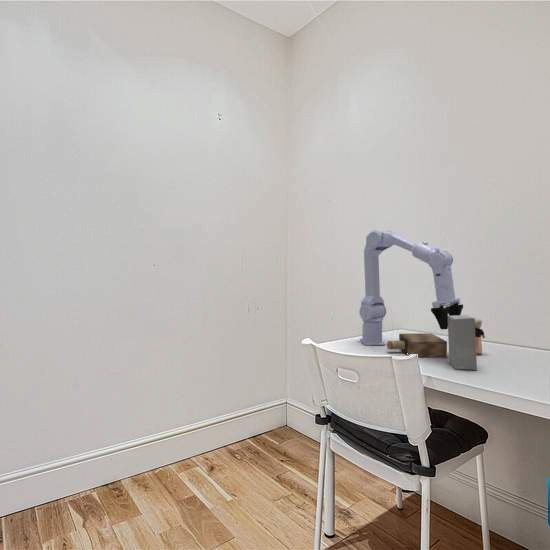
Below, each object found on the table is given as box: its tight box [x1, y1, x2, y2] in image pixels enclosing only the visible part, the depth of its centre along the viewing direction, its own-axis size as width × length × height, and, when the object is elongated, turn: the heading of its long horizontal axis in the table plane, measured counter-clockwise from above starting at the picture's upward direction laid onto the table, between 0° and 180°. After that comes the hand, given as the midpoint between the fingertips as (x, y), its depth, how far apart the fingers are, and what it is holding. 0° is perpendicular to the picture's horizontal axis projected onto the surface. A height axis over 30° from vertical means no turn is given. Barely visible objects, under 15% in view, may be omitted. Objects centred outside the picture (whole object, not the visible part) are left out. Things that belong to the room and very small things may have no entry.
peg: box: [386, 340, 405, 351], centre depth 146 cm, size 12×3×3 cm, turn 90°
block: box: [398, 332, 448, 359], centre depth 146 cm, size 13×14×5 cm
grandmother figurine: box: [475, 317, 486, 356], centre depth 143 cm, size 8×4×13 cm, turn 122°
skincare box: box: [447, 314, 478, 371], centre depth 128 cm, size 8×7×16 cm
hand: (450, 327), depth 136 cm, fingers open, 7 cm apart
